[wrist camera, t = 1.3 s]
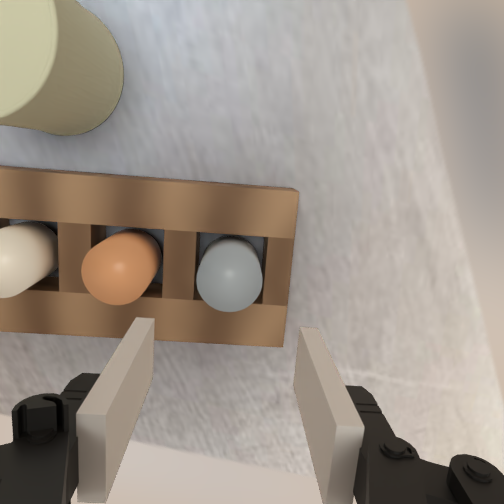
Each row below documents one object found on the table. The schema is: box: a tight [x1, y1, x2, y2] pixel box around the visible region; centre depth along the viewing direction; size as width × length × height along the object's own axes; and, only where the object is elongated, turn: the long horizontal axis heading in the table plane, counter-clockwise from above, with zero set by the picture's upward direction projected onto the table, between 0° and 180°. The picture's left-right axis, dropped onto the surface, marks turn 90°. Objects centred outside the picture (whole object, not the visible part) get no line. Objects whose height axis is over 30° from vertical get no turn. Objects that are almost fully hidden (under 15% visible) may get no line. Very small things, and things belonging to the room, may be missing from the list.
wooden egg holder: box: [0, 166, 299, 347], centre depth 32 cm, size 24×12×4 cm, turn 85°
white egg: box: [0, 221, 59, 298], centre depth 29 cm, size 4×4×5 cm
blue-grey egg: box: [196, 236, 263, 312], centre depth 30 cm, size 4×4×5 cm
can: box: [0, 0, 123, 136], centre depth 24 cm, size 9×9×12 cm
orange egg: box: [81, 229, 162, 305], centre depth 29 cm, size 4×4×5 cm
